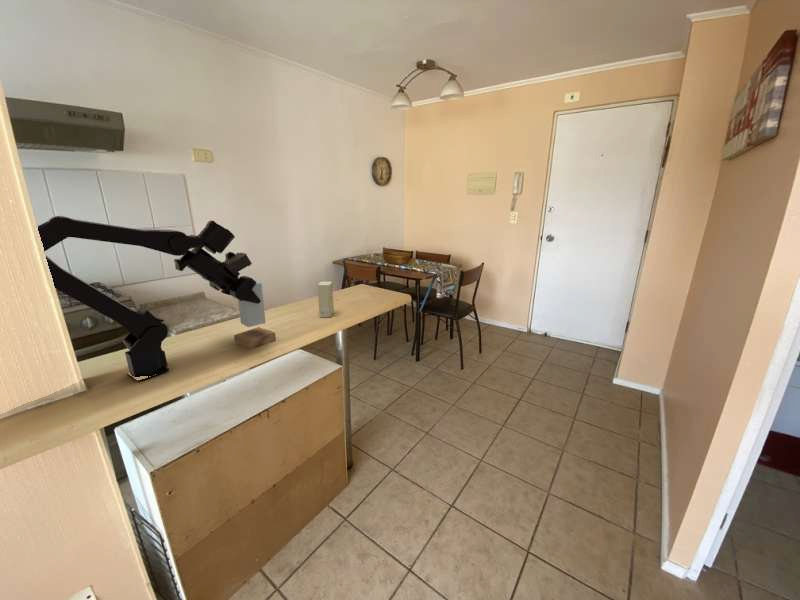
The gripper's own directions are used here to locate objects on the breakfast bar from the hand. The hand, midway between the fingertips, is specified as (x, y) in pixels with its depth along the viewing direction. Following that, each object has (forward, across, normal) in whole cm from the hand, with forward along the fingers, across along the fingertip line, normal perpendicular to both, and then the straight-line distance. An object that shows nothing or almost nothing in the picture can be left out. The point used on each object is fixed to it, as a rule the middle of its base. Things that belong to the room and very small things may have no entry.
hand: (255, 300), depth 96 cm
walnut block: (+8, 0, +10) cm, 13 cm away
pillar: (+4, 0, +6) cm, 7 cm away
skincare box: (+29, +6, -11) cm, 31 cm away
